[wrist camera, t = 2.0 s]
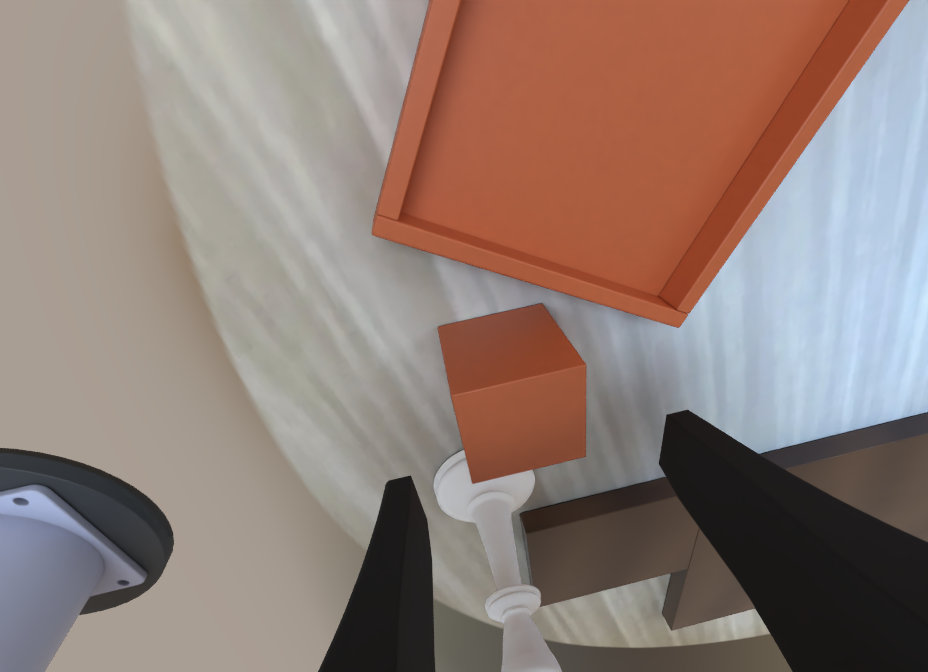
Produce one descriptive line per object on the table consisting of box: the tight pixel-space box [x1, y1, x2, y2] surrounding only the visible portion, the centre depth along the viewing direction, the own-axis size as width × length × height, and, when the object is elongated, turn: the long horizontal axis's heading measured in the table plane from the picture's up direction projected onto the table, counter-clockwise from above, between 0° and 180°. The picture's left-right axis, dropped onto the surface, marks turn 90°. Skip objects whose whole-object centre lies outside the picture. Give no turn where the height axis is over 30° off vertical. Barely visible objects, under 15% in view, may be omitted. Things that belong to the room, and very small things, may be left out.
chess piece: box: [434, 450, 562, 672], centre depth 15 cm, size 5×5×10 cm
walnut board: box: [520, 413, 928, 630], centre depth 26 cm, size 32×18×1 cm, turn 99°
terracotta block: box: [438, 304, 586, 484], centre depth 14 cm, size 4×4×4 cm
